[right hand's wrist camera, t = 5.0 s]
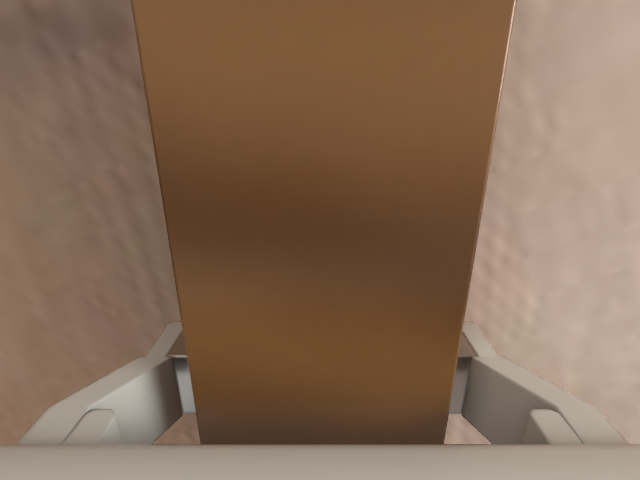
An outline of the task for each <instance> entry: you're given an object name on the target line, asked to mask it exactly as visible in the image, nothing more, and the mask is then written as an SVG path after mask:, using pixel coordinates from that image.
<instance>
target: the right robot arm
mask: <svg viewBox="0 0 640 480" xmlns="http://www.w3.org/2000/svg"><path fill="white" fill-rule="evenodd" d="M189 413H196V410H195V404H194V397H193V391H192V385H191V378H190V372H189V366H188V359H187V353H186V347H185V340H184V334H183V328H182V321H173V322H170V323H169V324H168V325H167V326H166V328H165V329H164V331H163V332H162V334H161V335H160V337H159V338H158V340H157V341H156V342H155V344H154V345H153V347H152V348H151V350H150V351H149V353H148V354H147V356H146V357H139V358H137V359H135V360H133V361H132V362H130V363H128V364H126V365H124V366H123V367H121V368H119V369H117V370H115V371H114V372H112V373H110V374H108V375H106V376H104V377H103V378H101V379H99V380H97V381H95V382H94V383H92V384H90V385H88V386H86V387H85V388H83V389H81V390H79V391H77V392H76V393H74V394H72V395H70V396H68V397H67V398H65V399H63V400H61V401H59V402H57V403H56V404H54V405H52V406H50V407H48V409H47V410H46V411H45V412H44V413H43V414H42V415H41V416H40V418H39V419H38V420H37V421H36V422H35V423H34V424H33V425H32V427H31V428H30V429H29V430H28V431H27V432H26V433H25V434H24V436H23V437H22V438H21V439H20V440H19V441H18V442H17V443H16V444H0V480H640V444H629V443H628V441H627V440H626V439H625V438H624V437H623V436H622V435H621V434H620V433H619V431H618V430H617V429H616V428H615V427H614V426H613V425H612V424H611V423H610V421H609V420H608V419H607V418H606V417H605V416H604V415H603V414H602V413H601V411H600V410H599V409H598V408H596V407H595V406H593V405H591V404H589V403H587V402H585V401H584V400H582V399H580V398H578V397H576V396H575V395H573V394H571V393H569V392H567V391H565V390H564V389H562V388H560V387H558V386H556V385H555V384H553V383H551V382H549V381H547V380H545V379H544V378H542V377H540V376H538V375H536V374H535V373H533V372H531V371H529V370H527V369H525V368H524V367H522V366H520V365H518V364H516V363H514V362H513V361H511V360H509V359H507V358H505V357H498V355H497V354H496V353H495V351H494V350H493V348H492V347H491V346H490V344H489V343H488V341H487V340H486V339H485V337H484V336H483V334H482V333H481V331H480V330H479V329H478V327H477V326H476V324H475V323H474V322H472V321H464V323H463V329H462V336H461V342H460V348H459V354H458V360H457V366H456V372H455V378H454V384H453V390H452V396H451V402H450V408H449V413H454V414H462V416H463V417H464V418H465V419H466V420H467V421H468V422H469V423H471V424H472V425H473V426H474V427H475V428H476V429H477V430H478V431H479V432H480V433H481V434H482V435H483V436H484V437H486V438H487V439H488V440H489V441H490V442H491V443H492V444H152V443H153V442H155V441H156V440H157V439H158V438H159V437H160V436H161V435H162V434H163V433H164V432H165V431H166V430H167V429H168V428H169V427H170V426H172V425H173V424H174V423H175V422H176V421H177V420H178V419H179V418H180V417H181V416H182V414H189Z"/></svg>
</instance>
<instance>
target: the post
mask: <svg viewBox="0 0 640 480" xmlns="http://www.w3.org/2000/svg"><path fill="white" fill-rule="evenodd" d="M516 1H517V0H131V4H132V10H133V17H134V23H135V29H136V36H137V42H138V49H139V55H140V61H141V68H142V74H143V80H144V87H145V93H146V99H147V106H148V112H149V118H150V125H151V131H152V137H153V144H154V150H155V156H156V163H157V169H158V175H159V182H160V188H161V194H162V201H163V207H164V213H165V220H166V226H167V233H168V239H169V245H170V252H171V258H172V264H173V271H174V277H175V283H176V290H177V296H178V302H179V309H180V315H181V321H182V328H183V334H184V340H185V347H186V353H187V359H188V366H189V372H190V378H191V385H192V391H193V397H194V404H195V410H196V416H197V423H198V429H199V436H200V442H201V444H444V439H445V433H446V427H447V421H448V415H449V408H450V402H451V396H452V390H453V384H454V378H455V372H456V366H457V360H458V354H459V348H460V342H461V336H462V329H463V323H464V317H465V311H466V305H467V299H468V293H469V287H470V281H471V275H472V269H473V263H474V257H475V250H476V244H477V238H478V232H479V226H480V220H481V214H482V208H483V202H484V196H485V190H486V184H487V178H488V171H489V165H490V159H491V153H492V147H493V141H494V135H495V129H496V123H497V117H498V111H499V105H500V98H501V92H502V86H503V80H504V74H505V68H506V62H507V56H508V50H509V44H510V38H511V32H512V26H513V19H514V13H515V7H516Z"/></svg>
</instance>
